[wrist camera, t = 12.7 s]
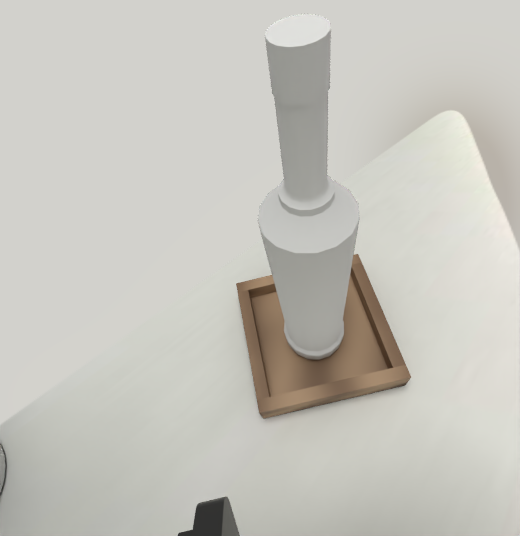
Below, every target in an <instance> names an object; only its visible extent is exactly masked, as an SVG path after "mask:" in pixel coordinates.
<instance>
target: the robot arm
mask: <svg viewBox="0 0 520 536" xmlns="http://www.w3.org/2000/svg"><path fill="white" fill-rule="evenodd" d="M5 467H6V466H5V456H4V453H3V450H2V447H1V445H0V493H1V489H2V486H3V482H4V477H5ZM178 536H240V535H239V532H238V529H237V525H236V522H235V519H234V515H233V512H232V509H231V505H230V502H229V499H228V498H227V497H223V498H219V499H214V500H210V501H206V502H201V503H198V505H197V507H196V513H195V519H194V525H193V530H190V531H185V532H181V533H179V534H178Z"/></svg>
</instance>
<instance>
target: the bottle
mask: <svg viewBox="0 0 520 536" xmlns="http://www.w3.org/2000/svg"><path fill="white" fill-rule="evenodd" d="M330 34H331V23H330V22H329V21H328V20H327V19H326V18H325V17H321V16H319V15H313V14H301V15H293V16H290V17H286V18H283V19H280V20H279V21H277V22H275V23H273V24H272V25H271V26H270V27H269V28H268V29H267V30H266V35H265V39H266V46H267V55H268V63H269V71H270V79H271V87H272V94H273V95H274V99H275V107H276V116H277V124H278V132H279V141H280V149H281V158H282V166H283V174H284V179H283V181H282V182H281V184H280V185H279V186H278V187H276V188H275V189H273V190H272V191H271V192H269V193H268V194H267V196H266V197H265V199H264V200H263V202H262V203H261V205H260V207H259V215H258V224H259V228H260V231H261V235H262V239H263V243H264V246H265V250H266V254H267V257H268V261H269V265H270V269H271V272H272V276H273V280H274V283H275V287H276V291H277V294H278V298H279V302H280V306H281V309H282V313H283V317H284V320H285V322H284V333H285V336H286V339H287V341H288V344H289V346H290V347H291V348H292V349H293V350H294V351H295V352H296V353H297V354H298V355H300V356H302V357H304V358H306V359H313V360H320V359H323V358H326V357H329V356H330V355H331V354H333V353H334V352H335V351H336V350H337V349H338V348H339V346H340V343H341V341H342V339H343V336H344V322H343V315H344V309H345V303H346V297H347V291H348V285H349V279H350V273H351V267H352V260H353V254H354V248H355V242H356V236H357V230H358V224H359V206H358V202H357V201H356V199H355V198H354V196H353V194H352V193H351V191H350V190H349V189H347V188H346V187H344V186H342V185H341V184H339V183H338V182H336V181H333V180H332V179H331V177H330V176H328V175H327V143H328V141H327V140H328V135H327V134H328V90H329V88H330V36H331V35H330Z"/></svg>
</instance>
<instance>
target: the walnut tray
mask: <svg viewBox="0 0 520 536" xmlns="http://www.w3.org/2000/svg"><path fill="white" fill-rule="evenodd" d="M236 285H237V290H238V296H239V302H240V307H241V313H242V318H243V324H244V330H245V335H246V341H247V346H248V352H249V358H250V363H251V369H252V374H253V380H254V386H255V391H256V397H257V402H258V408H259V413H260V414H261V416H262V417H263V418H268V417H272V416H277V415H281V414H285V413H289V412H294V411H298V410H302V409H306V408H311V407H315V406H319V405H324V404H328V403H332V402H336V401H341V400H345V399H349V398H353V397H358V396H362V395H366V394H370V393H375V392H379V391H383V390H387V389H392V388H396V387H400V386H404V385H406V383H407V382H408V381H409V379H410V378H411V376H410V374H409V371H408V369H407V367H406V364H405V362H404V360H403V357H402V355H401V353H400V350H399V348H398V346H397V343H396V341H395V339H394V336H393V334H392V332H391V329H390V327H389V325H388V323H387V320H386V318H385V316H384V313H383V311H382V309H381V306H380V304H379V302H378V299H377V297H376V295H375V292H374V290H373V288H372V285H371V283H370V281H369V278H368V276H367V274H366V272H365V269H364V267H363V265H362V262H361V260H360V258H359V255H358V254H356V255H353V260H352V267H351V273H350V279H349V285H348V291H347V297H346V303H345V309H344V315H343V322H344V336H343V339H342V341H341V343H340V346H339V348H338V349H337V350H336V351H335V352H334V353H333V354H331V355H330V356H329V357H326V358H323V359H320V360H313V359H306V358H304V357H302V356H300V355H298V354H297V353H296V352H295V351H294V350H293V349H292V348H291V347H290V346H289V344H288V341H287V339H286V336H285V333H284V322H285V320H284V317H283V313H282V309H281V306H280V302H279V298H278V294H277V291H276V287H275V283H274V280H273V276H272V275H270V276H266V277H261V278H257V279H253V280H249V281H245V282H241V283H237V284H236Z"/></svg>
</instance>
